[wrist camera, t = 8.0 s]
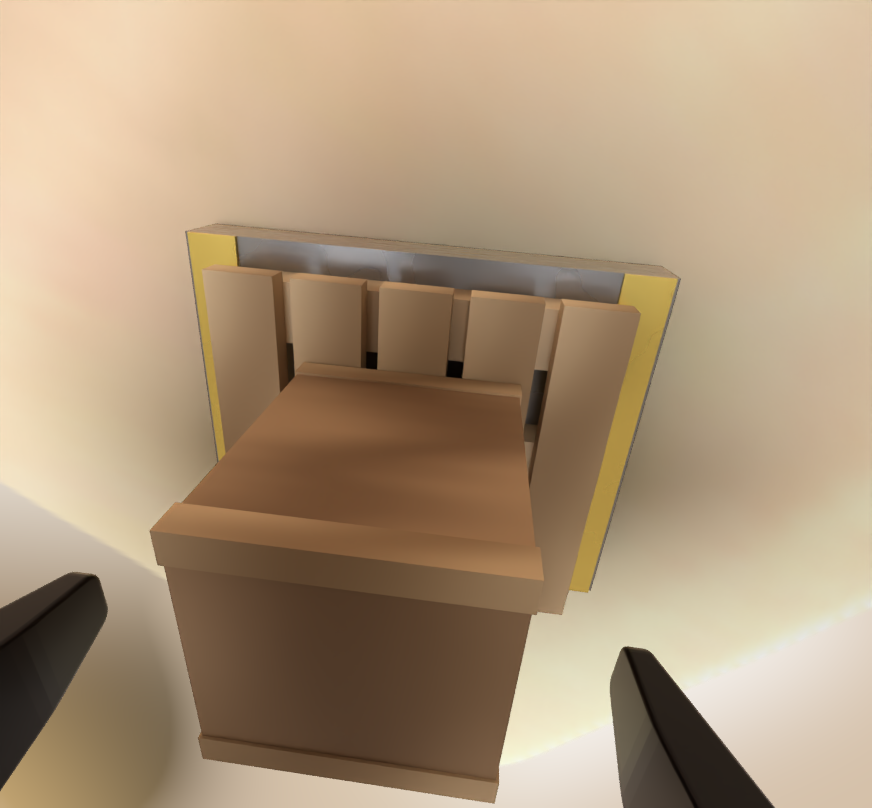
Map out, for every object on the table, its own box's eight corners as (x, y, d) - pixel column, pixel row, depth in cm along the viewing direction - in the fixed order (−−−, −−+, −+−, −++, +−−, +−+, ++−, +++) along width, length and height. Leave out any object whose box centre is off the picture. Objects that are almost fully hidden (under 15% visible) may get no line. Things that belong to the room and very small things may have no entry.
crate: (520, 383, 12) (544, 580, 6) (494, 552, 14) (494, 803, 9) (304, 361, 12) (148, 530, 7) (312, 529, 14) (203, 758, 9)
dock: (662, 266, 13) (682, 279, 12) (583, 557, 18) (591, 593, 16) (215, 223, 14) (183, 231, 12) (248, 514, 18) (227, 544, 17)
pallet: (632, 295, 12) (651, 314, 11) (562, 575, 16) (568, 615, 15) (226, 255, 13) (192, 268, 11) (256, 535, 17) (234, 570, 15)
